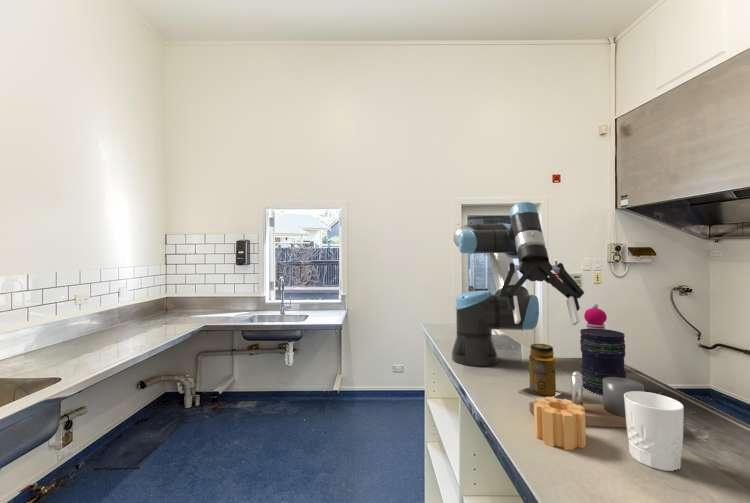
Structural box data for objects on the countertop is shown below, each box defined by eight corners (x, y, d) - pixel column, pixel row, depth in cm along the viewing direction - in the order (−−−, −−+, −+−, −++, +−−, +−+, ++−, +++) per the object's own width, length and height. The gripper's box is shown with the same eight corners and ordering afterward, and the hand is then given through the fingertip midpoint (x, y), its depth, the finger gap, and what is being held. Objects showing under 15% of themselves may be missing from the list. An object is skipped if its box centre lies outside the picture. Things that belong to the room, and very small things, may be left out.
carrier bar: (529, 410, 76) (529, 401, 76) (635, 415, 73) (635, 406, 74) (538, 423, 70) (538, 413, 70) (654, 429, 68) (654, 418, 68)
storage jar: (608, 399, 82) (606, 337, 82) (572, 385, 91) (571, 330, 92) (636, 394, 85) (634, 334, 86) (599, 381, 94) (597, 327, 95)
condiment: (563, 394, 86) (562, 346, 86) (544, 402, 81) (543, 351, 81) (536, 385, 92) (535, 341, 92) (517, 392, 87) (516, 345, 88)
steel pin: (570, 407, 73) (569, 369, 74) (580, 407, 73) (579, 370, 73) (574, 411, 71) (573, 372, 72) (585, 411, 71) (584, 373, 71)
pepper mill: (584, 362, 112) (582, 301, 113) (610, 365, 108) (608, 302, 108) (582, 367, 106) (580, 303, 107) (610, 372, 102) (608, 305, 103)
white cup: (614, 448, 61) (612, 392, 61) (654, 445, 62) (653, 390, 62) (654, 475, 53) (651, 411, 53) (699, 472, 54) (697, 408, 54)
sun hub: (597, 403, 75) (596, 376, 75) (631, 405, 74) (630, 377, 74) (615, 418, 68) (614, 388, 68) (653, 419, 67) (652, 389, 67)
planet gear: (528, 425, 70) (528, 395, 70) (573, 427, 68) (572, 397, 69) (544, 448, 61) (543, 414, 61) (595, 451, 60) (594, 417, 60)
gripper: (487, 243, 93) (497, 315, 82) (584, 242, 90) (608, 318, 79) (483, 257, 100) (491, 326, 88) (573, 256, 96) (594, 329, 85)
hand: (546, 322), depth 84 cm, fingers open, 13 cm apart
